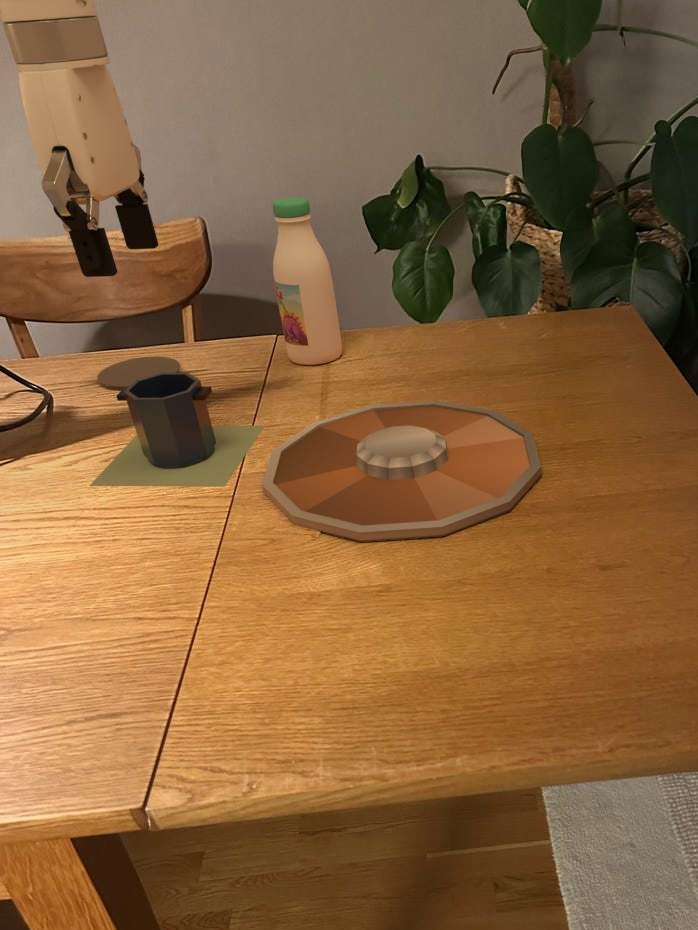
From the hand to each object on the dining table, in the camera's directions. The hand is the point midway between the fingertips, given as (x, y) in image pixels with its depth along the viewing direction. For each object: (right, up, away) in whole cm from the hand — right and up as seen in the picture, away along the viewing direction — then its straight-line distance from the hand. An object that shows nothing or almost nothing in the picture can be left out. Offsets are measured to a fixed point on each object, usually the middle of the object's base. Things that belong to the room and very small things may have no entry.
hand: (123, 261), depth 81 cm
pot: (+1, -16, +13) cm, 21 cm away
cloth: (+1, -16, +14) cm, 21 cm away
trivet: (-12, -1, +34) cm, 36 cm away
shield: (+27, -19, +9) cm, 34 cm away
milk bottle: (+12, +3, +37) cm, 39 cm away
